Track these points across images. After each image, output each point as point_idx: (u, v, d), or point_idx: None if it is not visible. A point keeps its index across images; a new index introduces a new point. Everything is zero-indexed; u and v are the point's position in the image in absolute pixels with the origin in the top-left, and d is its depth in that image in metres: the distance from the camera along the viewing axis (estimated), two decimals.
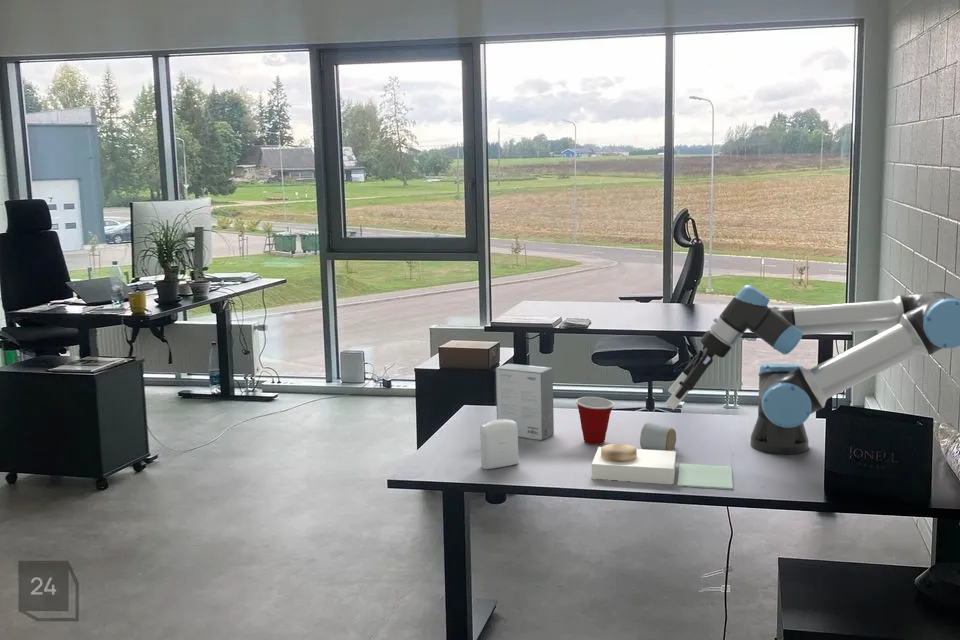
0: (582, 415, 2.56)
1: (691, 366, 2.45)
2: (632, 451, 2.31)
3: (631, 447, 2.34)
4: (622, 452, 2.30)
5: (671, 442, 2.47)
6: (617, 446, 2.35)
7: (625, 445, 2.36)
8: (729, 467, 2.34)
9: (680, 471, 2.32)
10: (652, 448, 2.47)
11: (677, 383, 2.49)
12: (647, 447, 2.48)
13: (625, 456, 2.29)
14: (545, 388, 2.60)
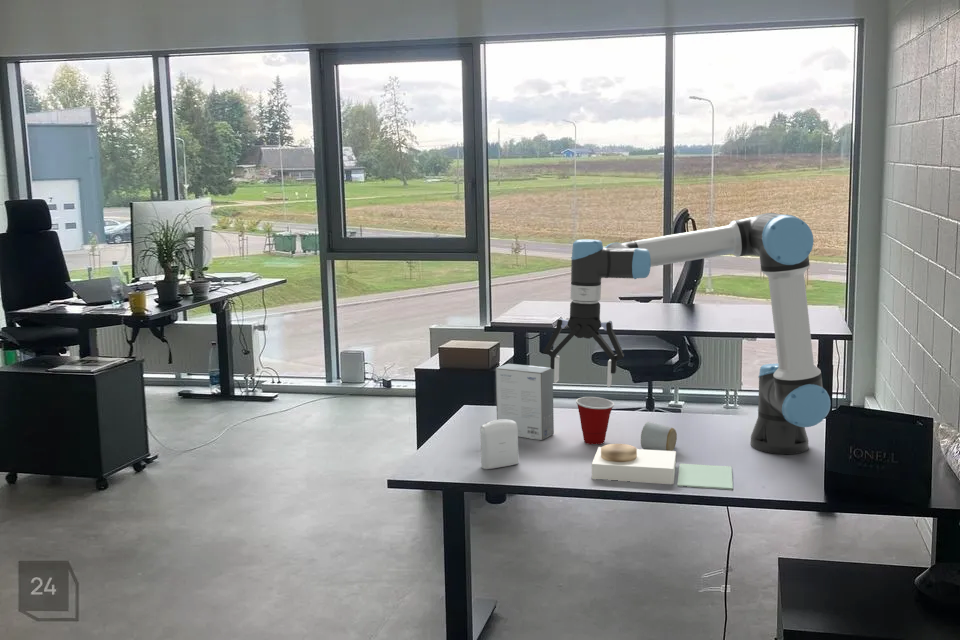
0: (582, 415, 2.56)
1: (564, 345, 2.32)
2: (632, 451, 2.31)
3: (631, 447, 2.34)
4: (622, 451, 2.30)
5: (672, 442, 2.47)
6: (617, 446, 2.35)
7: (625, 445, 2.36)
8: (729, 467, 2.34)
9: (680, 471, 2.32)
10: (653, 448, 2.47)
11: (557, 369, 2.34)
12: (648, 447, 2.48)
13: (625, 455, 2.29)
14: (544, 388, 2.60)
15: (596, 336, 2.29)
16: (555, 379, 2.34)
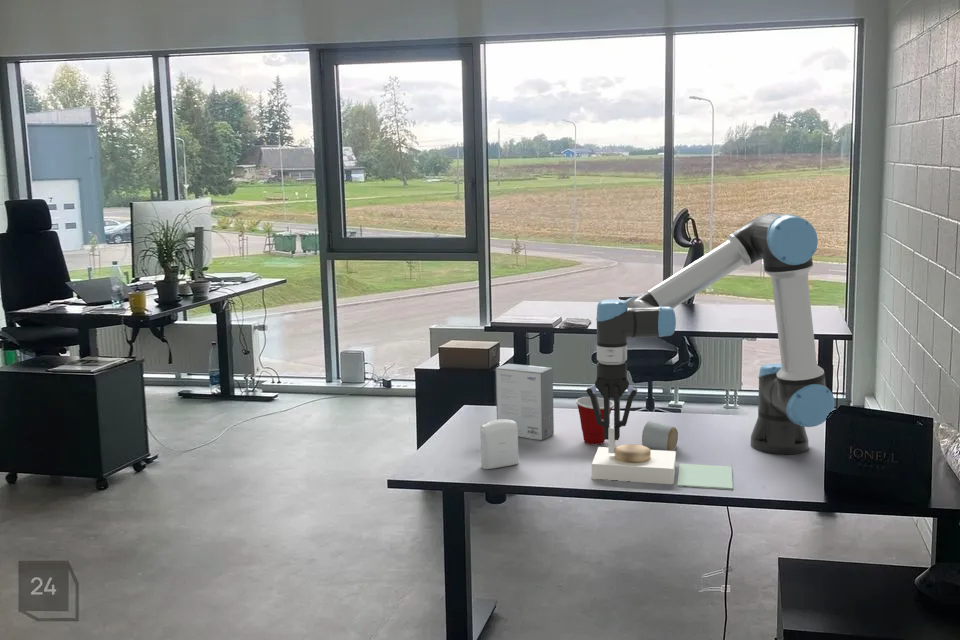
0: (582, 415, 2.56)
1: (608, 410, 2.31)
2: (646, 452, 2.30)
3: (644, 448, 2.33)
4: (636, 453, 2.29)
5: (673, 441, 2.48)
6: (630, 447, 2.34)
7: (638, 446, 2.35)
8: (729, 467, 2.34)
9: (680, 471, 2.32)
10: (654, 447, 2.48)
11: None
12: (649, 446, 2.49)
13: (640, 457, 2.28)
14: (545, 388, 2.60)
15: (617, 399, 2.29)
16: (609, 450, 2.32)
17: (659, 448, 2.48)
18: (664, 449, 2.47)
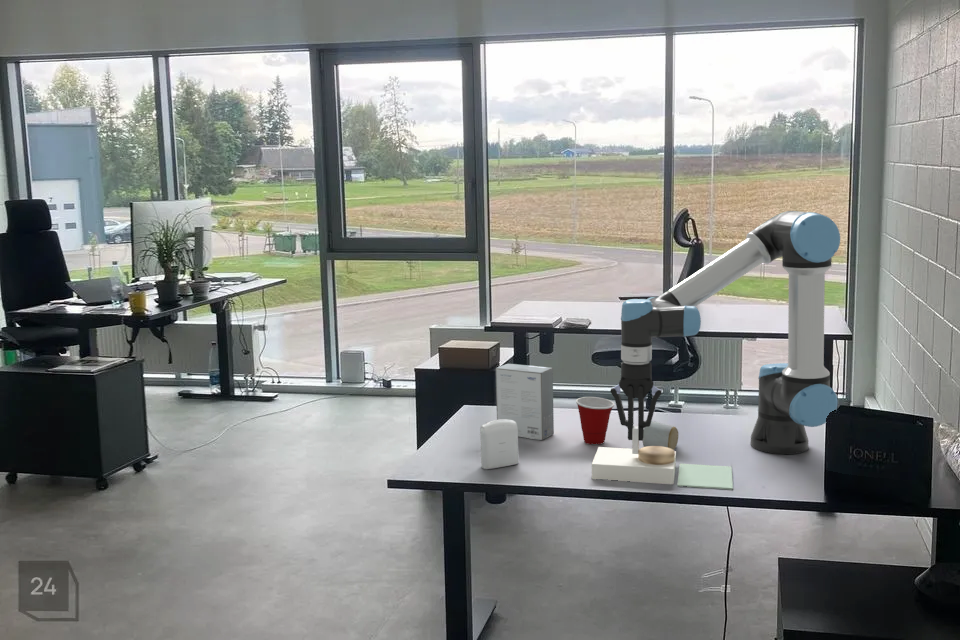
0: (582, 415, 2.56)
1: (632, 411, 2.30)
2: (670, 453, 2.28)
3: (669, 449, 2.32)
4: (660, 454, 2.28)
5: (673, 440, 2.48)
6: (654, 448, 2.33)
7: (662, 447, 2.33)
8: (729, 467, 2.34)
9: (680, 471, 2.32)
10: None
11: None
12: (649, 445, 2.49)
13: (664, 458, 2.26)
14: (545, 388, 2.60)
15: (641, 399, 2.28)
16: (633, 450, 2.31)
17: None
18: None
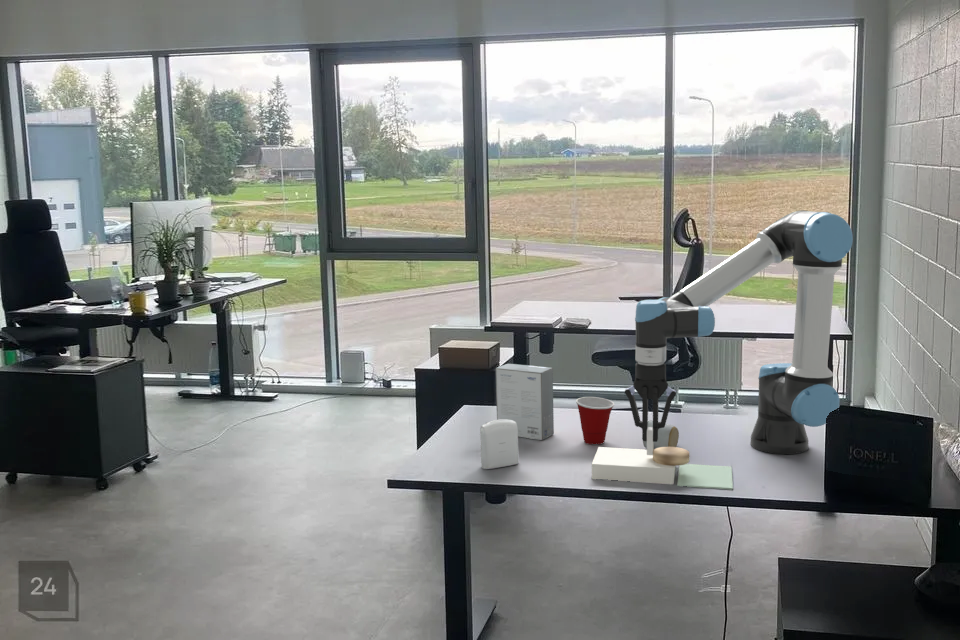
0: (582, 415, 2.56)
1: (647, 412, 2.29)
2: (685, 454, 2.27)
3: (683, 450, 2.31)
4: (675, 455, 2.27)
5: (674, 440, 2.48)
6: (669, 449, 2.32)
7: (677, 448, 2.32)
8: (729, 467, 2.34)
9: (680, 471, 2.32)
10: (655, 446, 2.49)
11: None
12: None
13: (678, 459, 2.25)
14: (545, 388, 2.60)
15: (656, 400, 2.27)
16: (648, 451, 2.30)
17: None
18: None
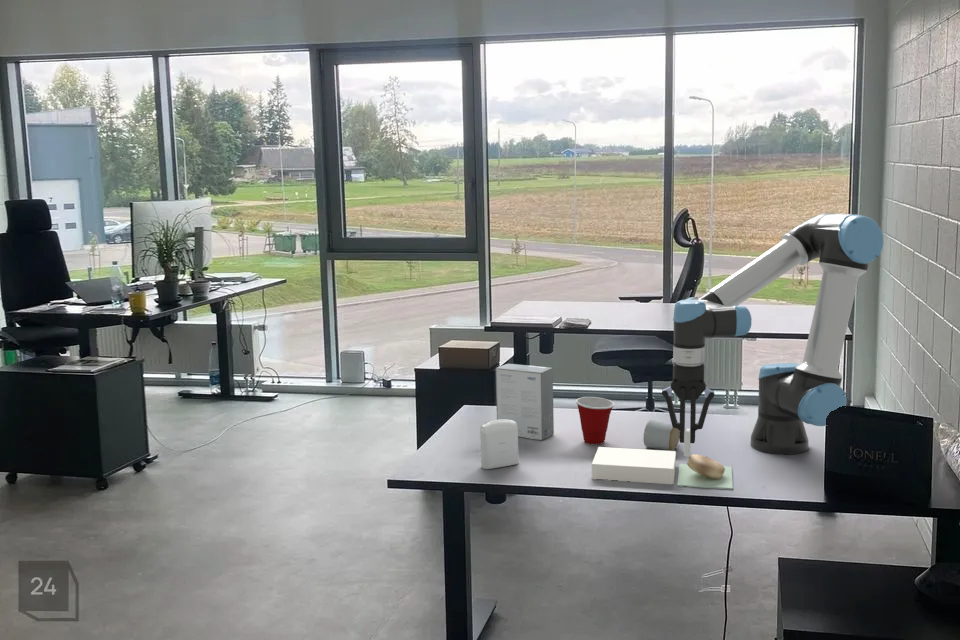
0: (582, 415, 2.56)
1: (684, 413, 2.27)
2: (721, 470, 2.26)
3: (719, 465, 2.29)
4: (711, 467, 2.25)
5: (675, 439, 2.49)
6: (705, 459, 2.30)
7: (712, 460, 2.31)
8: (729, 467, 2.34)
9: (680, 471, 2.32)
10: (655, 445, 2.49)
11: None
12: (650, 444, 2.50)
13: (714, 473, 2.24)
14: (545, 388, 2.60)
15: (694, 401, 2.25)
16: (685, 453, 2.28)
17: (661, 447, 2.49)
18: (666, 448, 2.48)
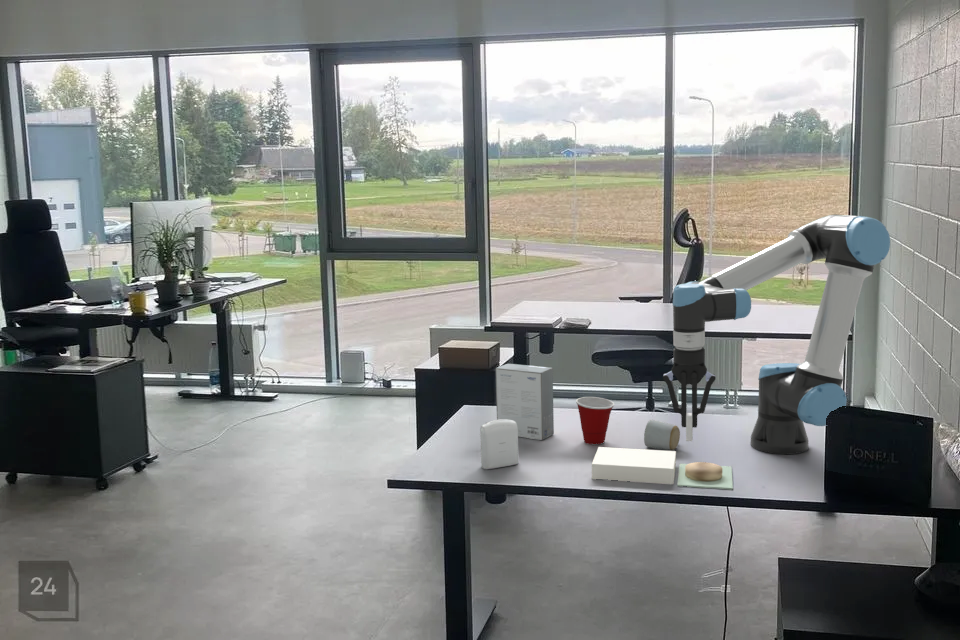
0: (582, 415, 2.56)
1: (686, 397, 2.26)
2: (718, 470, 2.26)
3: (716, 466, 2.29)
4: (708, 471, 2.26)
5: (675, 439, 2.49)
6: (701, 465, 2.30)
7: (709, 463, 2.31)
8: (729, 467, 2.34)
9: (680, 471, 2.32)
10: (656, 445, 2.50)
11: None
12: (651, 444, 2.50)
13: (712, 475, 2.24)
14: (545, 388, 2.60)
15: (695, 386, 2.24)
16: (687, 437, 2.27)
17: (661, 446, 2.49)
18: (666, 447, 2.48)
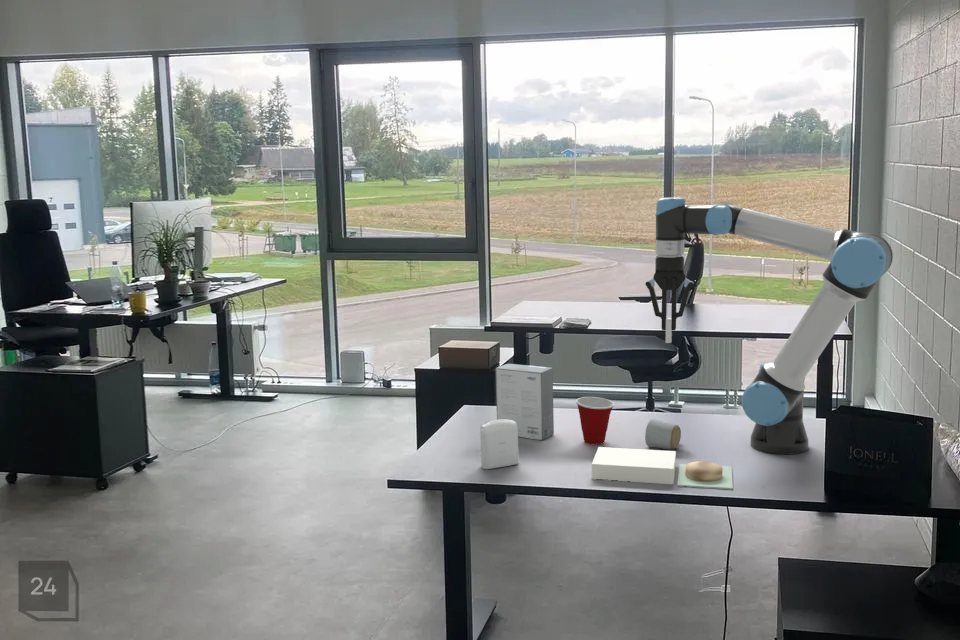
0: (582, 415, 2.56)
1: (666, 302, 2.47)
2: (717, 471, 2.26)
3: (717, 466, 2.29)
4: (707, 471, 2.26)
5: (676, 438, 2.50)
6: (703, 464, 2.30)
7: (711, 463, 2.31)
8: (729, 467, 2.34)
9: (680, 471, 2.32)
10: (657, 444, 2.50)
11: None
12: (652, 443, 2.51)
13: (709, 475, 2.24)
14: (545, 388, 2.60)
15: (674, 291, 2.45)
16: (667, 339, 2.48)
17: (662, 446, 2.50)
18: (667, 447, 2.49)
